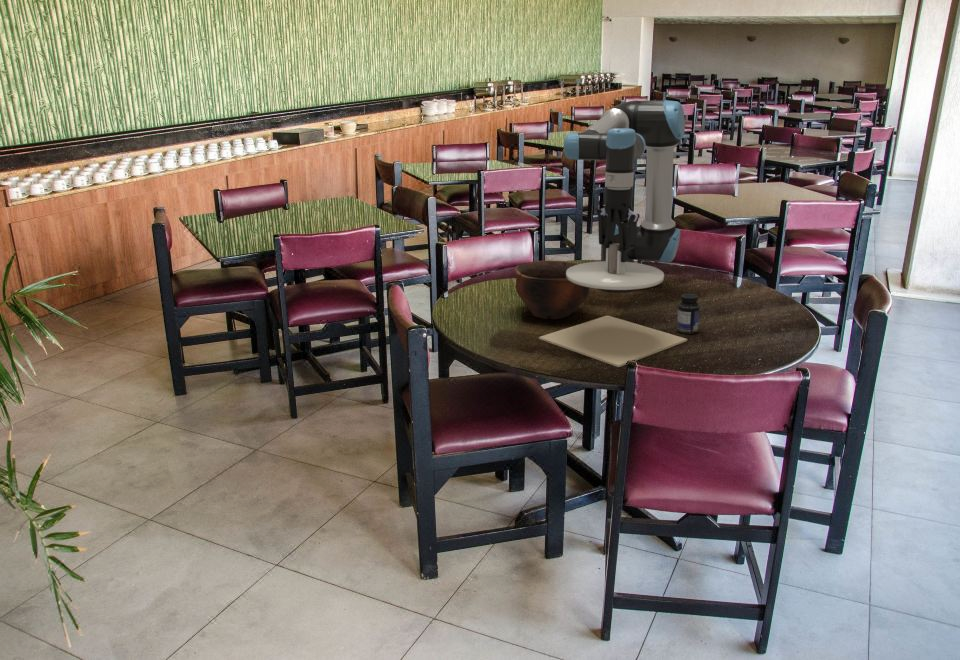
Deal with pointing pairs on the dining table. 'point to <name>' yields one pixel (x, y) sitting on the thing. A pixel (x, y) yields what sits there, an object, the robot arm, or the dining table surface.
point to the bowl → (548, 289)
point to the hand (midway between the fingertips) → (615, 271)
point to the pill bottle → (688, 314)
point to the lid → (614, 274)
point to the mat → (613, 340)
